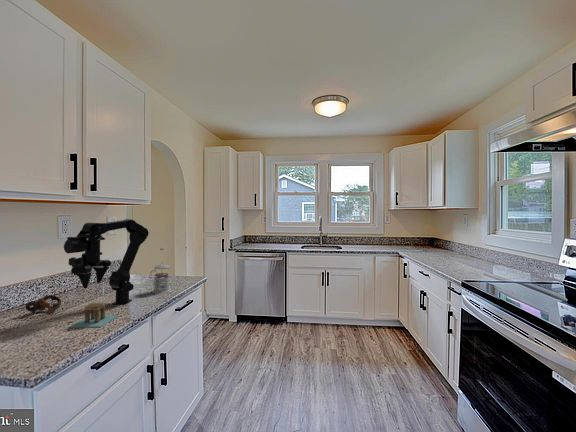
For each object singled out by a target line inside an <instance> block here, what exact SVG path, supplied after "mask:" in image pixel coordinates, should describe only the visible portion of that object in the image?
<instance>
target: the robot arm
mask: <svg viewBox="0 0 576 432" xmlns="http://www.w3.org/2000/svg"><path fill="white" fill-rule="evenodd" d="M122 229H125V230H126V232H127V233H128V234H129V244H128V246H127V248H126V250H125V253H124V256H123V257H122V260H121V263H120V265H119V268H118V269H117V270H115V271H113V270H112V272H111V275H110V276H109V278H108V280H109V281H108V284H109V286H110V287H111V289H112V290H111V291H115V301H114V302H112V305H127V304H129V303H130V302H132V301H133V299H131V298H130V292H131V291H133V290H134V287H135V285H134V284H133V283H132V282H131V281H130V280H131V273H130V271H131V268H132V266H133V264H134V261H135V258H136V256H137V254H138V251H139V249H140V247H141V245H142V244H143V243H144V242H145V241H146V239H147V238H148V236H149V234H150V232H149V230H148V228H146V227H144V226H143V225H141V224H140V223H138V222H137V221H135V220H134V219H131V218H129V219H128V218H125V219H122V220H115V221H108V222H85V223H84V224H83V225H82V228H81V230H80V231H79V232H78V233H77V235H76V236H67V238H66V240H65V242H64V244H63V250H64V252H65V253H66V254H75V253H76V254H77V253H81V256H80V257H75V256H74V257H70V258H68V265H69V266H70V267H71V270H70V273H71V274H72V275H74V276H77V277H78V278H79V280H80V282H81V285H82V287H83V289H88V286H89V283H90V280H91V277H92V274H93V273H92V270H94V271H95V276H96V284H100V283H101V282H102V280H103V278H104V276H105V274H106V273H107V271H108V269H109V268H110V266H111V265H112V262H111V260H109V259H101V255H103V252H102V251H101V241H105V240H106V238H105V237H104V236H103V234H106V233H107V232H109V231H110V232H111V231H115V230H122Z"/></svg>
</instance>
